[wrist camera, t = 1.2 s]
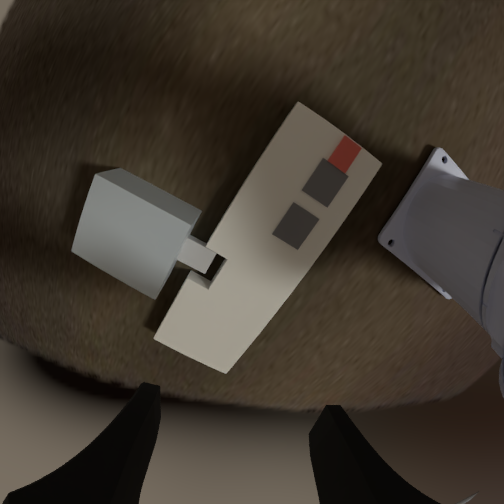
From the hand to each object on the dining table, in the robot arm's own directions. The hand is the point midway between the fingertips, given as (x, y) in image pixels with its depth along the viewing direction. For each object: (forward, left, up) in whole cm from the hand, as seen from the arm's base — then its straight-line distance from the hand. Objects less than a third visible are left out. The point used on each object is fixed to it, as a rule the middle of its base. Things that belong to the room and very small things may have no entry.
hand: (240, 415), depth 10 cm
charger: (+8, 0, -11) cm, 13 cm away
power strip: (+1, -2, -10) cm, 11 cm away
